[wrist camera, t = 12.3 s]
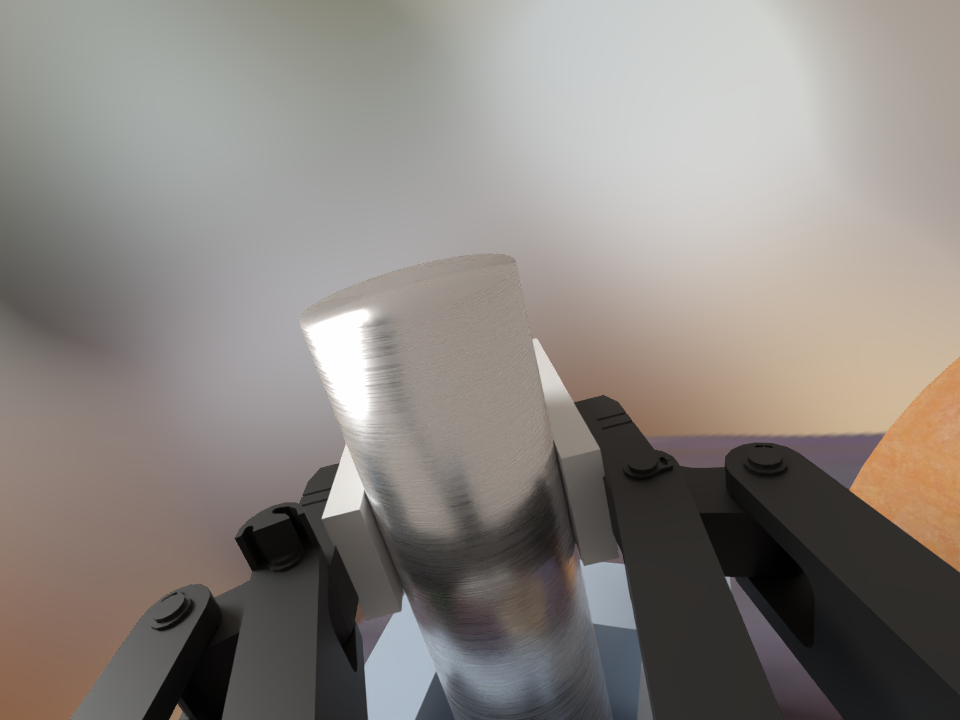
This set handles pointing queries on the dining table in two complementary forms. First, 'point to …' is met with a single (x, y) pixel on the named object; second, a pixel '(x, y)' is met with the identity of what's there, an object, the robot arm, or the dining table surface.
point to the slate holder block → (417, 688)
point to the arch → (921, 469)
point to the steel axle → (465, 481)
